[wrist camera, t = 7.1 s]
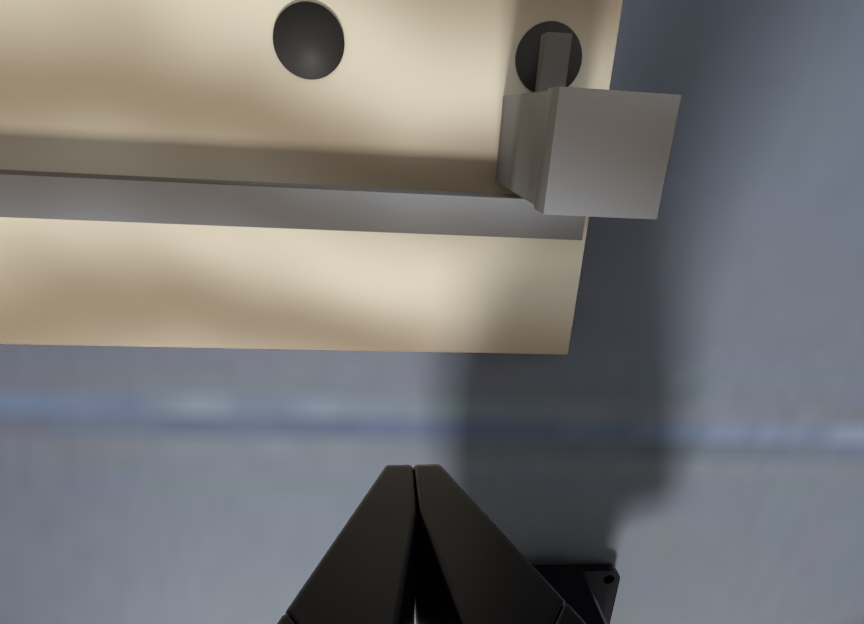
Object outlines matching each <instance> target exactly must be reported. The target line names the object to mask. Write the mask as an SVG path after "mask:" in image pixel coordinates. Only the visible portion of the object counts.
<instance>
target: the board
mask: <svg viewBox="0 0 864 624" xmlns="http://www.w3.org/2000/svg"><path fill="white" fill-rule="evenodd" d="M622 3H623V0H0V344H35V345H88V346H141V347H194V348H247V349H300V350H354V351H407V352H460V353H513V354H566V355H568V349H569V343H570V336H571V330H572V323H573V317H574V311H575V304H576V298H577V291H578V285H579V279H580V272H581V266H582V259H583V253H584V247H585V240H586V234H587V227H588V221H589V217H610V218H632V219H655V220H657V216H658V211H659V206H660V201H661V196H662V191H663V186H664V181H665V176H666V171H667V166H668V161H669V156H670V151H671V146H672V141H673V136H674V130H675V125H676V120H677V115H678V110H679V105H680V100H681V95H678V94H663V93H649V92H634V91H619V90H609V87H610V80H611V74H612V67H613V61H614V55H615V48H616V42H617V35H618V29H619V23H620V16H621V10H622Z"/></svg>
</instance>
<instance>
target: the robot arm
mask: <svg viewBox="0 0 864 624" xmlns="http://www.w3.org/2000/svg"><path fill="white" fill-rule="evenodd" d="M608 575H609V576H608ZM619 580H620V576H619V574H618V572H617V570H616V568H615V567H614V566H613V565H611V564H578V565H532V564H531V563H530V562H529V561H528V560H527V559H526V558H525V557H524V556H523V555H522V554H521V552H520V551H519V550H518V549H517V548H516V547H515V546H514V545H513V544H512V543H511V542H510V541H509V539H508V538H507V537H506V536H505V535H504V534H503V533H502V532H501V531H500V530H499V529H498V527H497V526H496V525H495V524H494V523H493V522H492V521H491V520H490V519H489V518H488V517H487V516H486V514H485V513H484V512H483V511H482V510H481V509H480V508H479V507H478V506H477V505H476V504H475V502H474V501H473V500H472V499H471V498H470V497H469V496H468V495H467V494H466V493H465V492H464V491H463V489H462V488H461V487H460V486H459V485H458V484H457V483H456V482H455V481H454V480H453V479H452V477H451V476H450V475H449V474H448V473H447V472H446V471H445V470H444V469H443V468H442V467H441V466H440V465H438V464H427V465H416V466H414V468H412V466H410V465H388V466H386V467H385V468H384V470H383V471H382V473H381V474H380V475H379V477H378V478H377V480H376V481H375V483H374V484H373V486H372V487H371V489H370V490H369V491H368V493H367V494H366V496H365V497H364V499H363V500H362V502H361V503H360V505H359V506H358V507H357V509H356V510H355V512H354V513H353V515H352V516H351V518H350V519H349V521H348V522H347V523H346V525H345V526H344V528H343V529H342V531H341V532H340V534H339V535H338V537H337V538H336V539H335V541H334V542H333V544H332V545H331V547H330V548H329V550H328V551H327V553H326V554H325V555H324V557H323V558H322V560H321V561H320V563H319V564H318V566H317V567H316V569H315V570H314V571H313V573H312V574H311V576H310V577H309V579H308V580H307V582H306V583H305V585H304V586H303V587H302V589H301V590H300V592H299V593H298V595H297V596H296V598H295V599H294V601H293V602H292V603H291V605H290V606H289V608H288V609H287V611H286V615H283V616H282V617H281V619H280V620H279V622H278V623H277V624H414V611H415V615H416V624H610V620H611V615H612V611H613V607H614V602H615V598H616V593H617V589H618V584H619Z"/></svg>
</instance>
